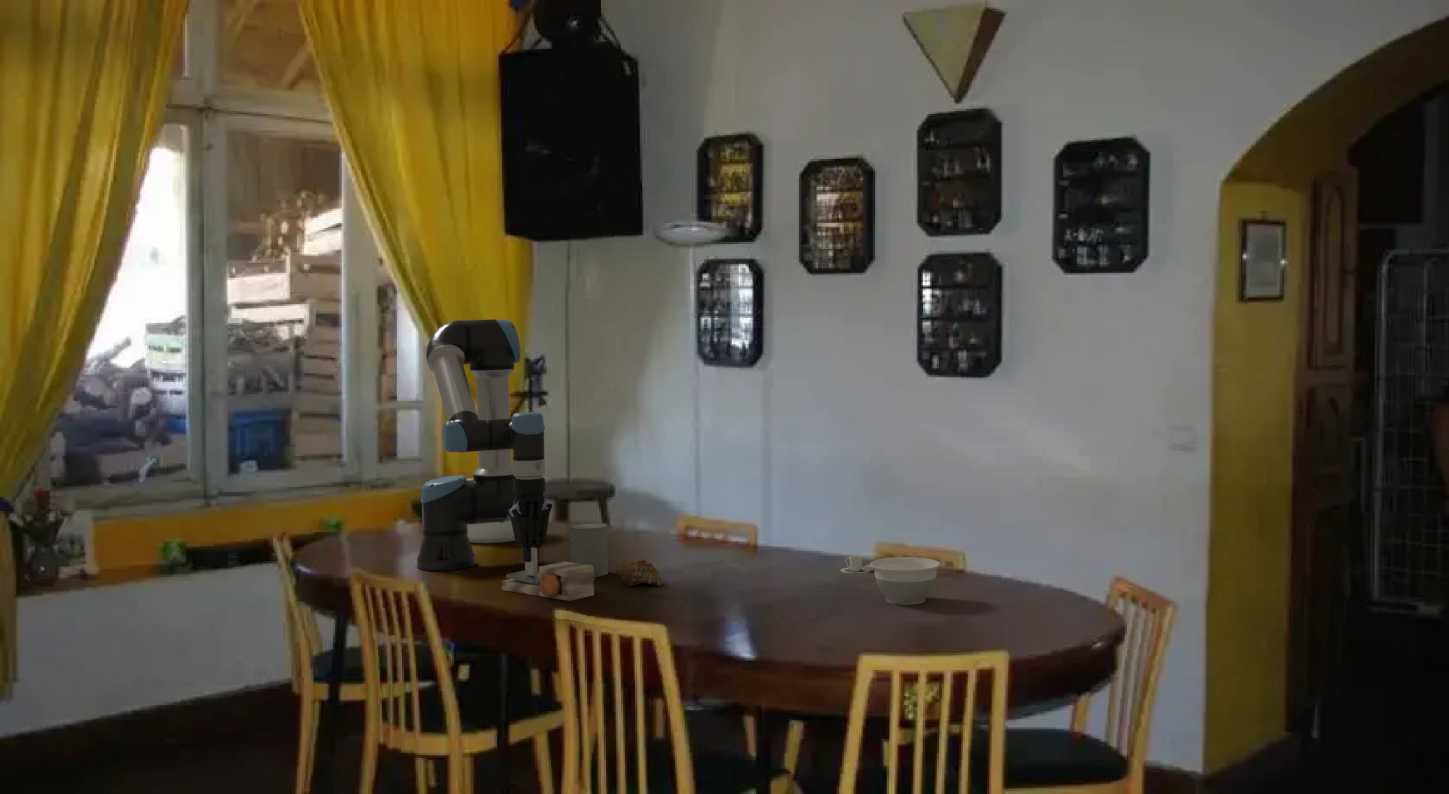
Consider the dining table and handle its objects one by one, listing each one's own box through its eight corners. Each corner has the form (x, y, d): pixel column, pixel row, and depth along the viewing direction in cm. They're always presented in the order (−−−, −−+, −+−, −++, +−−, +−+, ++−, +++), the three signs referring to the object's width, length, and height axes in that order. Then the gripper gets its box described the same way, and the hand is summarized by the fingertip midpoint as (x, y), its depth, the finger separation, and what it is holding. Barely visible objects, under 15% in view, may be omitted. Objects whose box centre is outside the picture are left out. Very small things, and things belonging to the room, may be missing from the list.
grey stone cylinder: (602, 577, 364) (600, 528, 363) (565, 576, 366) (564, 528, 365) (612, 570, 373) (611, 522, 372) (577, 569, 375) (575, 522, 374)
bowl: (923, 610, 318) (923, 572, 318) (858, 604, 327) (857, 566, 326) (952, 597, 332) (952, 560, 331) (889, 591, 340) (888, 555, 340)
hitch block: (502, 590, 350) (501, 561, 350) (526, 584, 357) (525, 556, 356) (569, 601, 336) (569, 571, 336) (594, 595, 342) (593, 565, 342)
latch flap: (506, 578, 350) (506, 573, 350) (527, 573, 355) (527, 569, 355) (536, 585, 343) (536, 580, 343) (558, 580, 349) (558, 575, 349)
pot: (527, 544, 416) (526, 486, 415) (442, 546, 417) (440, 487, 415) (540, 530, 442) (538, 475, 441) (460, 531, 442) (458, 476, 441)
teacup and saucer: (880, 572, 366) (880, 556, 366) (861, 576, 360) (861, 560, 360) (853, 568, 372) (853, 552, 372) (833, 572, 367) (833, 556, 366)
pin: (539, 595, 339) (539, 573, 339) (582, 586, 350) (581, 564, 350) (555, 598, 336) (555, 576, 335) (597, 588, 347) (597, 566, 346)
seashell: (644, 602, 348) (623, 568, 346) (627, 602, 355) (606, 568, 353) (671, 580, 353) (650, 546, 351) (654, 580, 360) (633, 547, 358)
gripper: (519, 481, 340) (522, 580, 342) (559, 475, 350) (562, 572, 352) (498, 479, 345) (500, 577, 346) (538, 473, 355) (540, 569, 357)
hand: (531, 574), depth 349 cm, fingers closed
